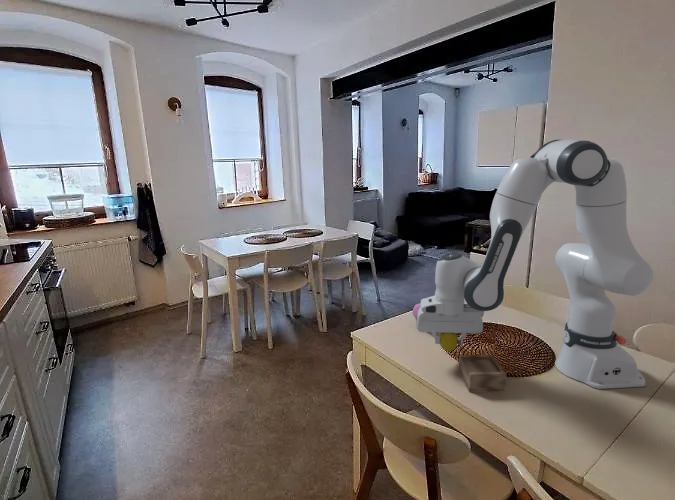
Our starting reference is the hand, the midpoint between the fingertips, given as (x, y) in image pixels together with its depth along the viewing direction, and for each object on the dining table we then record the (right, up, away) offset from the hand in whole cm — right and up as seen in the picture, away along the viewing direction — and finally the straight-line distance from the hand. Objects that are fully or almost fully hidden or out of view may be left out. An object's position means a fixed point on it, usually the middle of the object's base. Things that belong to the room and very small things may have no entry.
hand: (448, 343), depth 116 cm
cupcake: (-2, 0, +25) cm, 25 cm away
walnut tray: (+7, -9, -9) cm, 14 cm away
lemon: (0, -3, +1) cm, 3 cm away
